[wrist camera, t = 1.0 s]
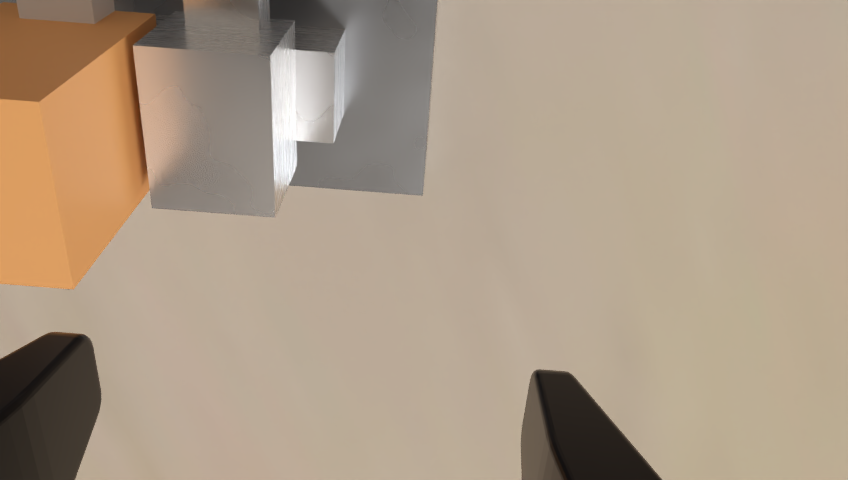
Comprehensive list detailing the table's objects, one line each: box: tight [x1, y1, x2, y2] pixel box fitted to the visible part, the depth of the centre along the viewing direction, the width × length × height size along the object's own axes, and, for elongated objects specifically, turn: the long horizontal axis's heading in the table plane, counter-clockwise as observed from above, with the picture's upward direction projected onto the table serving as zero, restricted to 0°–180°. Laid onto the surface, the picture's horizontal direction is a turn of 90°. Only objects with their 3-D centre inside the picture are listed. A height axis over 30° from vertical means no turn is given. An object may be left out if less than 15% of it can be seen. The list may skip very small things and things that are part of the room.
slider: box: [0, 0, 157, 289], centre depth 14 cm, size 7×3×7 cm, turn 176°
